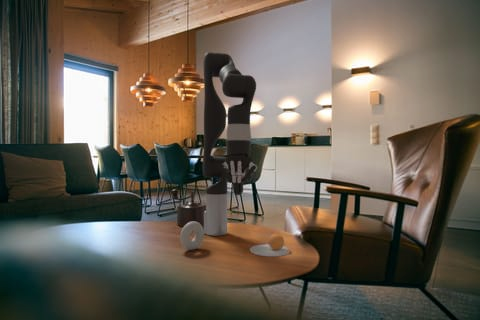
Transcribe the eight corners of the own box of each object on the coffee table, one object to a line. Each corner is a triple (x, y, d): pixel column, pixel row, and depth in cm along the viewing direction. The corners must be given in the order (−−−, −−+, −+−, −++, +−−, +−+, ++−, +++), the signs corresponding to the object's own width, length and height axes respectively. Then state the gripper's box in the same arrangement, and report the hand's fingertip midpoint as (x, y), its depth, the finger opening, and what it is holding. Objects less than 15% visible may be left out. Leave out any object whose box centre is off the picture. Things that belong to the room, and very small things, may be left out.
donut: (184, 253, 103) (184, 224, 103) (177, 251, 106) (177, 222, 106) (206, 247, 111) (206, 220, 111) (199, 245, 113) (199, 218, 113)
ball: (270, 229, 110) (274, 238, 114) (264, 241, 107) (267, 250, 110) (284, 232, 107) (287, 242, 111) (278, 245, 104) (281, 255, 107)
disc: (243, 253, 105) (243, 252, 105) (258, 243, 117) (258, 242, 117) (283, 258, 99) (283, 258, 99) (294, 247, 112) (294, 247, 112)
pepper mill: (189, 222, 158) (190, 186, 158) (207, 224, 152) (207, 188, 152) (168, 227, 145) (168, 189, 145) (185, 230, 139) (186, 190, 139)
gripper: (214, 139, 95) (213, 194, 96) (254, 138, 90) (253, 197, 90) (225, 139, 102) (224, 192, 103) (262, 139, 97) (262, 194, 97)
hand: (238, 194), depth 96 cm, fingers closed
